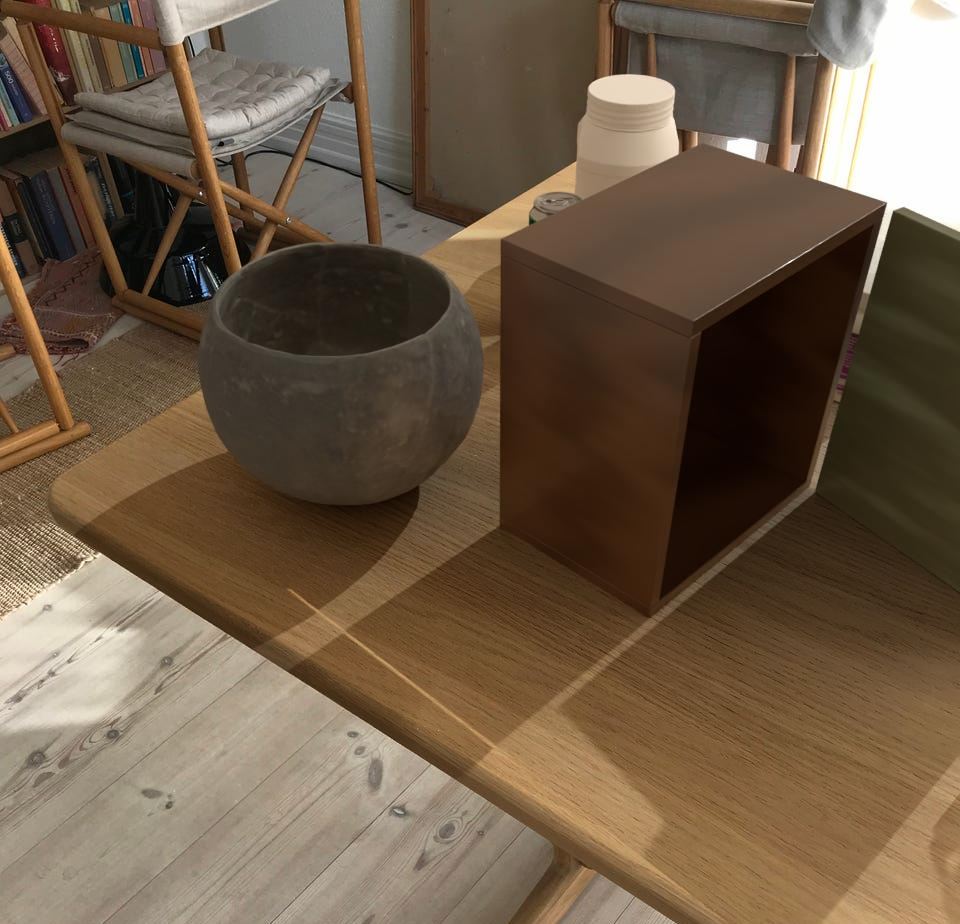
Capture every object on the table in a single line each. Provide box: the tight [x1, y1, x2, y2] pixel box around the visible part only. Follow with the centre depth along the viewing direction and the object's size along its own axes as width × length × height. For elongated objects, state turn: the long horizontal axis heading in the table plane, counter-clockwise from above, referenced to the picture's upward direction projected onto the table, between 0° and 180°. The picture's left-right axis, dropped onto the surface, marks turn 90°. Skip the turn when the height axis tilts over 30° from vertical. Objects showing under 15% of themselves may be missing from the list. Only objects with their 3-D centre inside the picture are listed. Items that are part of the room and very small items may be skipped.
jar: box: [574, 73, 680, 200], centre depth 104 cm, size 12×10×15 cm
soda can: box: [528, 191, 583, 226], centre depth 92 cm, size 5×5×12 cm
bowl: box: [197, 241, 485, 506], centre depth 77 cm, size 20×20×15 cm
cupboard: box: [499, 142, 888, 618], centre depth 71 cm, size 14×20×22 cm
